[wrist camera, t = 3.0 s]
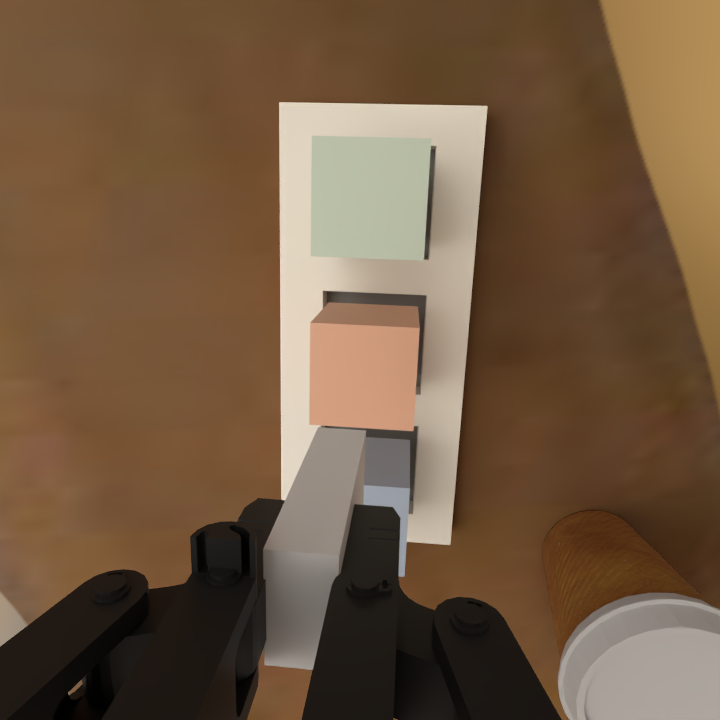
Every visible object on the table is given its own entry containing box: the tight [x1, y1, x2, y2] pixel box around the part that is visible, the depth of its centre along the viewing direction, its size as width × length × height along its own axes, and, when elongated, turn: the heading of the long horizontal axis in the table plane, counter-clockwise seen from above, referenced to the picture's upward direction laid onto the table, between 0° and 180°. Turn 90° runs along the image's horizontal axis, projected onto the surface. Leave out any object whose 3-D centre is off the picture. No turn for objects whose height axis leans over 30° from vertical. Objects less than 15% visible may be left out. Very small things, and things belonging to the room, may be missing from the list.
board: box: [279, 102, 487, 545], centre depth 33 cm, size 26×11×2 cm, turn 178°
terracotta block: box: [309, 302, 420, 431], centre depth 29 cm, size 5×5×6 cm
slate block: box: [363, 437, 410, 577], centre depth 31 cm, size 5×5×6 cm
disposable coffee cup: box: [542, 511, 720, 720], centre depth 31 cm, size 10×10×12 cm
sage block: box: [311, 136, 431, 261], centre depth 27 cm, size 5×5×6 cm
